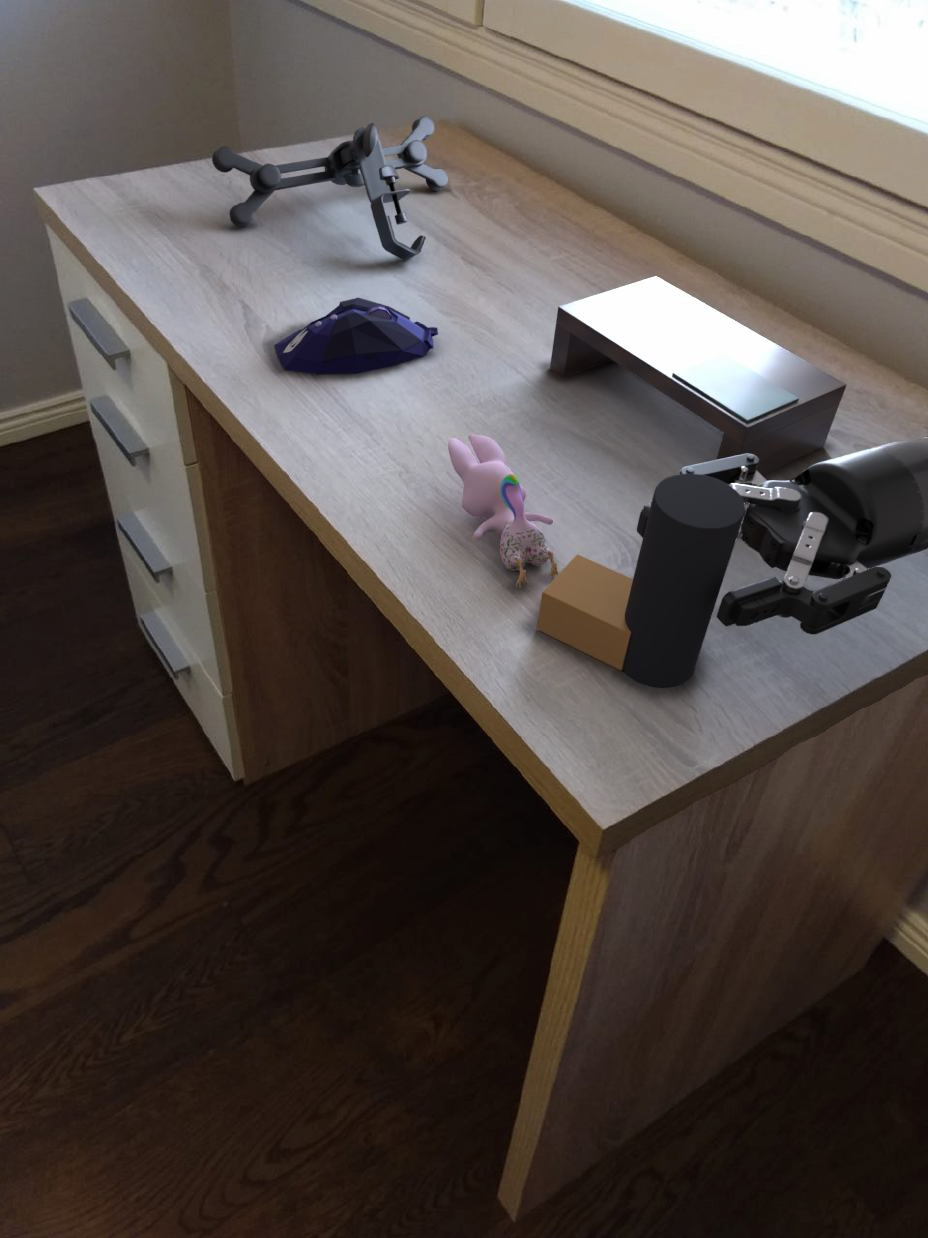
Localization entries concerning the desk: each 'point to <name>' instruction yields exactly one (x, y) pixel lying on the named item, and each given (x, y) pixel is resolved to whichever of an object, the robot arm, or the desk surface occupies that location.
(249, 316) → the desk surface
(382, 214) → the tablet mount
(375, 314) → the computer mouse
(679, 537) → the cylinder with tan block
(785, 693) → the desk surface
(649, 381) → the low wooden bench
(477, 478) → the rabbit figure
